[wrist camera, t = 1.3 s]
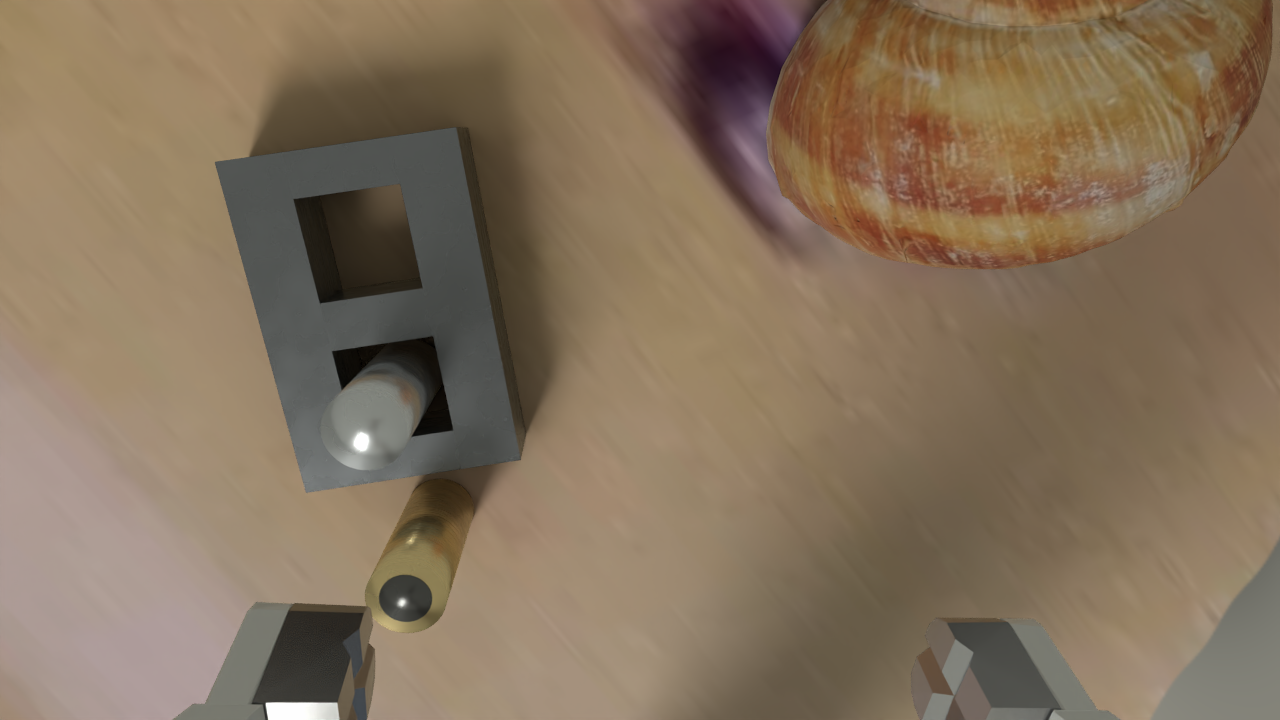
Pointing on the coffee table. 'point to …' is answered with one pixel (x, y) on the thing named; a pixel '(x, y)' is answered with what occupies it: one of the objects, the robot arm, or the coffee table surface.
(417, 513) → the bushing
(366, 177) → the jig
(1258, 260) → the coffee table surface
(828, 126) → the seashell
